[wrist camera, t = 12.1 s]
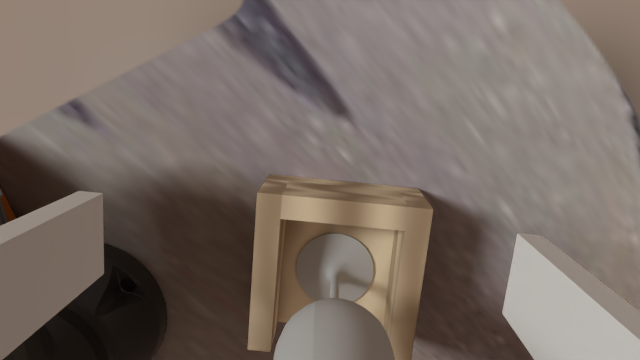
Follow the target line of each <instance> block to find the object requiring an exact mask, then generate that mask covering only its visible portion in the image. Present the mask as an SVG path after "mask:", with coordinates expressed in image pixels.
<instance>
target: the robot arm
mask: <svg viewBox="0 0 640 360" xmlns="http://www.w3.org/2000/svg"><path fill="white" fill-rule="evenodd" d="M1 196H3V195H2V192H1V190H0V360H151V359H152V357H153V356H154V354H155V353H156V351H157V350H158V348H159V346H160V345H161V343H162V340H163V338H164V334H165V330H166V323H167V313H166V306H165V302H164V298H163V295H162V293H161V290H160V288H159V286H158V284H157V283H156V281H155V279H154V278H153V277H152V275H151V274H150V273H149V272H148V270H147V269H146V268H145V267H144V266H143V265H142V264H141V263H139V262H138V261H137V260H136V259H134V258H133V257H131V256H130V255H128V254H127V253H125V252H123V251H121V250H119V249H117V248H114V247H112V246H109V245H105V244H104V234H103V193H96V192H85V191H78V192H75V193H73V194H71V195H69V196H66V197H64V198H62V199H60V200H57V201H55V202H53V203H51V204H48V205H46V206H44V207H42V208H39V209H37V210H35V211H33V212H30V213H28V214H26V215H24V216H21V217H19V218H17V219H15V220H12V221H10V222H8V219H7V216H6V213H5V210H4V207H3V204H2V201H1ZM502 314H503V315H504V317H505V318H506V320H507V321H508V323H509V324H510V326H511V327H512V328H513V330H514V331H515V333H516V334H517V336H518V337H519V339H520V340H521V341H522V343H523V344H524V346H525V347H526V349H527V350H528V352H529V353H530V354H531V356H532V357H533V359H534V360H640V312H639V311H638V310H637V309H635V308H634V307H633V306H632V305H630V304H629V303H628V302H627V301H625V300H624V299H623V298H621V297H620V296H619V295H618V294H616V293H615V292H614V291H612V290H611V289H610V288H609V287H607V286H606V285H605V284H603V283H602V282H601V281H600V280H598V279H597V278H596V277H594V276H593V275H592V274H591V273H589V272H588V271H587V270H586V269H584V268H583V267H582V266H580V265H579V264H578V263H577V262H575V261H574V260H573V259H571V258H570V257H569V256H568V255H566V254H565V253H564V252H562V251H561V250H560V249H559V248H557V247H556V246H555V245H553V244H552V243H551V242H550V241H548V240H547V239H546V238H544V237H543V236H540V235H530V234H519V233H518V234H517V239H516V244H515V249H514V254H513V260H512V265H511V270H510V275H509V280H508V285H507V291H506V296H505V301H504V306H503V311H502Z"/></svg>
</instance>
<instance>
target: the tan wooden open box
mask: <svg viewBox="0 0 640 360" xmlns="http://www.w3.org/2000/svg"><path fill="white" fill-rule="evenodd" d="M432 216H433V208H432V207H431V205H430V204H429V203H428V201H427V200H426V198H425V197H424V196H423V194H422V193H421V191H420V190H419V189H418V188H408V187H398V186H387V185H377V184H366V183H356V182H345V181H335V180H324V179H314V178H303V177H293V176H282V175H272V174H270V175H269V176H268V177H267V179H266V180H265V182H264V183H263V185H262V186H261V188H260V189H259V190H258V192H257V202H256V218H255V235H254V251H253V267H252V284H251V300H250V316H249V333H248V349H247V350H256V351H266V352H271V348H272V344H273V340H274V336H275V332H276V328H277V324H278V322H284V323H287V322H288V321H289V320H290V319H291V317H292V316H293V315H294V314H296V313H297V312H298V311H300V310H301V309H302V308H304V307H305V306H307V305H308V304H310V303H313V302H315V300H314V299H312V298H311V297H309V296H308V295H307V294H306V293H305V292H304V290H303V289H302V287H301V286H300V284H299V281H298V279H297V273H296V265H297V259H298V257H299V254H300V252H301V250H302V249H303V248H304V246H305V245H306V244H307V243H308V242H310V241H311V240H312V239H313V238H315V237H318V236H320V235H322V234H327V233H342V234H346V235H350V236H352V237H353V238H355V239H357V240H359V241H360V242H361V243H362V244H363V245H364V246H365V247H366V249H367V250H368V252H369V253H370V256H371V259H372V262H373V277H372V281H371V283H370V285H369V287H368V289H367V290H366V291H365V293H364V294H363V295H362V296H361V297H359V298H358V299H356V300H355V301H353V302H355V303H357V304H359V305H361V306H362V307H364V308H366V309H367V310H368V311H369V312H371V313H372V314H373V315H374V316H375V317H376V318H377V319H378V320H379V321H380V323H381V324H382V326H383V327H384V329H385V330H386V332H387V335H388V337H389V340H390V343H391V346H392V349H393V352H394V357H395V360H411V356H412V350H413V343H414V336H415V330H416V323H417V316H418V310H419V303H420V296H421V290H422V283H423V276H424V269H425V263H426V256H427V249H428V243H429V236H430V229H431V223H432Z"/></svg>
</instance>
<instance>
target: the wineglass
mask: <svg viewBox="0 0 640 360" xmlns="http://www.w3.org/2000/svg"><path fill="white" fill-rule="evenodd" d="M296 273H297V279H298V281H299V284H300V286H301V287H302V289H303V290H304V292H305V293H306V294H307V295H308V296H309V297H311V298H312V299H314V300H315V302H313V303H310V304H308V305H307V306H305V307H304V308H302V309H301V310H300V311H298V312H297V313H296V314H294V315H293V316H292V317H291V319H290V320H289V321H288V322H287V323H286V325H285V326H284V329H283V331H282V333H281V335H280V338H279V340H278V342H277V345H276V349H275V353H274V358H273V360H395V357H394V352H393V349H392V346H391V343H390V340H389V337H388V335H387V332H386V330H385V329H384V327H383V326H382V324H381V323H380V321H379V320H378V319H377V318H376V317H375V316H374V315H373V314H372V313H371V312H369V311H368V310H367V309H366V308H364V307H362V306H361V305H359V304H357V303H355V302H353V301H355V300H356V299H358V298H359V297H361V296H362V295H363V294H364V293H365V291H366V290H367V289H368V287H369V285H370V283H371V281H372V277H373V262H372V259H371V256H370V253H369V252H368V250H367V249H366V247H365V246H364V245H363V244H362V243H361V242H360V241H359V240H357V239H355V238H353V237H352V236H350V235H346V234H342V233H327V234H322V235H320V236H318V237H315V238H313V239H312V240H311V241H310V242H308V243H307V244H306V245H305V246H304V248H303V249H302V250H301V252H300V254H299V257H298V259H297V265H296Z"/></svg>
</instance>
